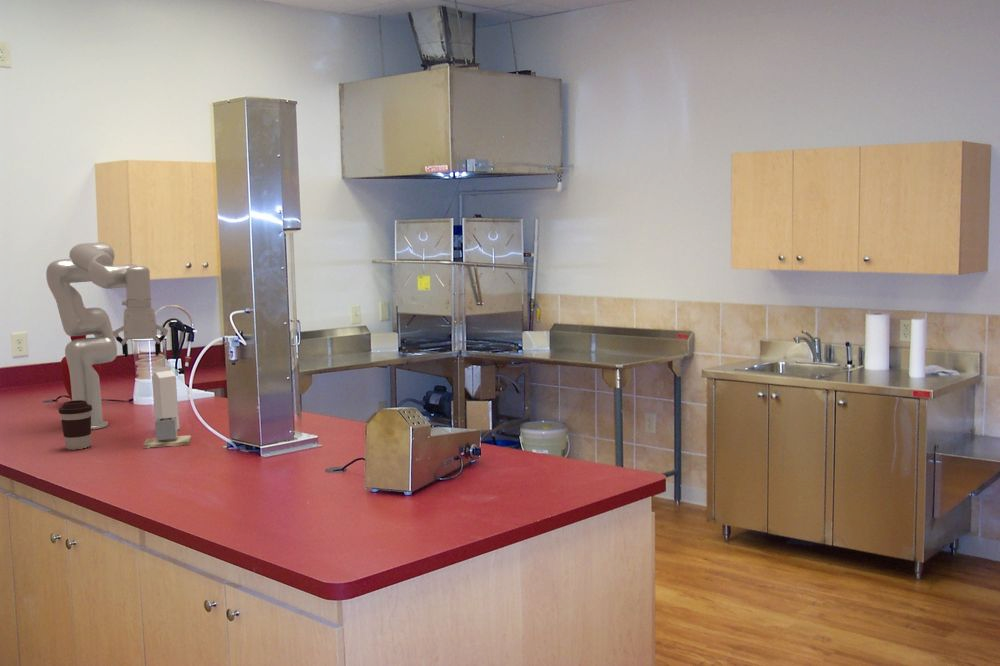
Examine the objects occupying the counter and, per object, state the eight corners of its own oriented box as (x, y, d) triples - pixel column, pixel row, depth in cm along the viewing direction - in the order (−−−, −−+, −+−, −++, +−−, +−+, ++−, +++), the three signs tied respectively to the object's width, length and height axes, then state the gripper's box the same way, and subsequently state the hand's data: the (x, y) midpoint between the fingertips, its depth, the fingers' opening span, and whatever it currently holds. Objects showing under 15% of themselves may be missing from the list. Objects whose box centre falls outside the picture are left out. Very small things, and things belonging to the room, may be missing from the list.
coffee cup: (83, 451, 328) (79, 404, 326) (55, 451, 330) (51, 404, 328) (101, 444, 338) (97, 399, 336) (73, 444, 340) (70, 399, 338)
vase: (66, 411, 402) (60, 334, 398) (61, 405, 414) (55, 331, 411) (106, 406, 409) (100, 331, 406) (100, 401, 422) (94, 328, 418)
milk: (179, 429, 358) (175, 366, 355) (162, 432, 354) (158, 368, 351) (171, 427, 362) (167, 365, 360) (155, 430, 358) (151, 367, 356)
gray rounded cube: (156, 440, 331) (155, 421, 331) (158, 436, 337) (156, 418, 337) (176, 438, 333) (174, 420, 332) (177, 435, 339) (176, 416, 338)
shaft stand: (143, 448, 329) (141, 424, 328) (146, 442, 338) (144, 418, 338) (189, 445, 332) (187, 420, 331) (191, 438, 342) (189, 414, 341)
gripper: (109, 306, 333) (112, 358, 335) (165, 304, 337) (168, 356, 339) (112, 303, 340) (115, 355, 342) (167, 302, 344) (170, 353, 346)
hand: (141, 355), depth 341 cm, fingers open, 9 cm apart
